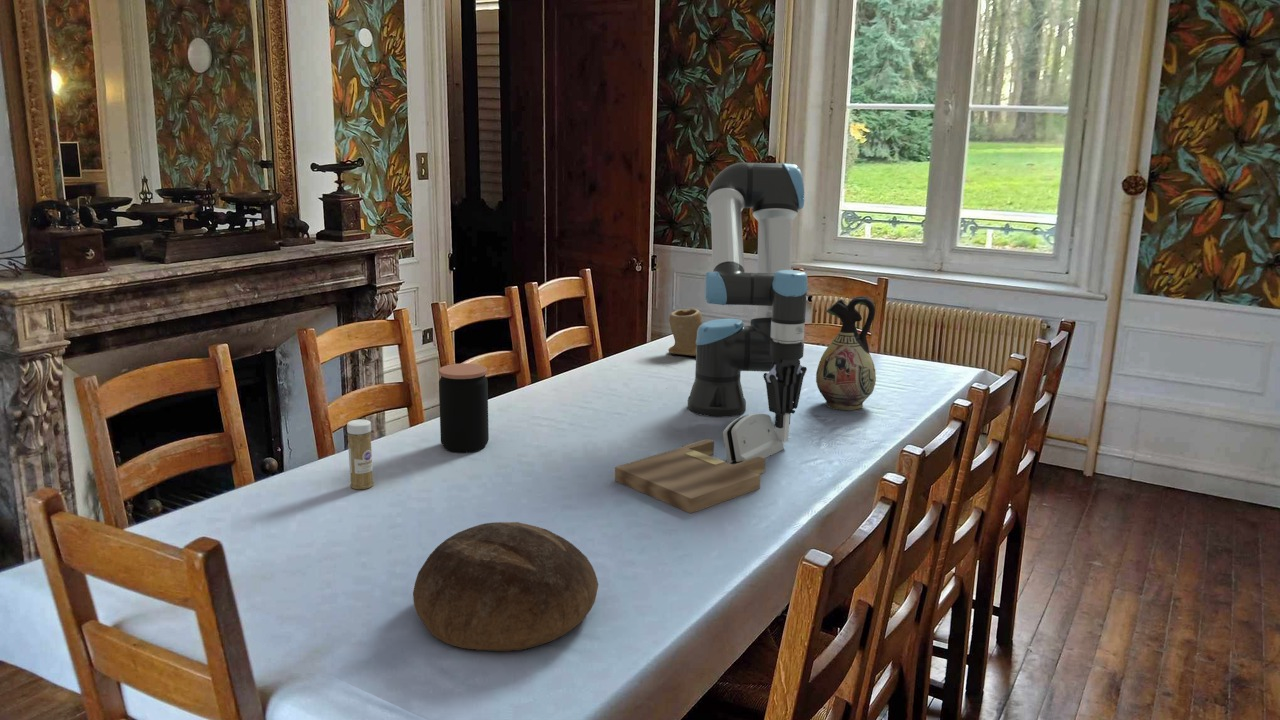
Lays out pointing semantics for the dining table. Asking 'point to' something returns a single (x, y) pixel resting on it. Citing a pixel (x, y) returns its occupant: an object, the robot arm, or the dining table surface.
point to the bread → (504, 587)
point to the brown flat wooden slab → (691, 476)
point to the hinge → (751, 438)
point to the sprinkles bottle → (360, 454)
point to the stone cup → (685, 331)
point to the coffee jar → (463, 407)
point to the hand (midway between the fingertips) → (781, 440)
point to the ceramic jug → (847, 359)
